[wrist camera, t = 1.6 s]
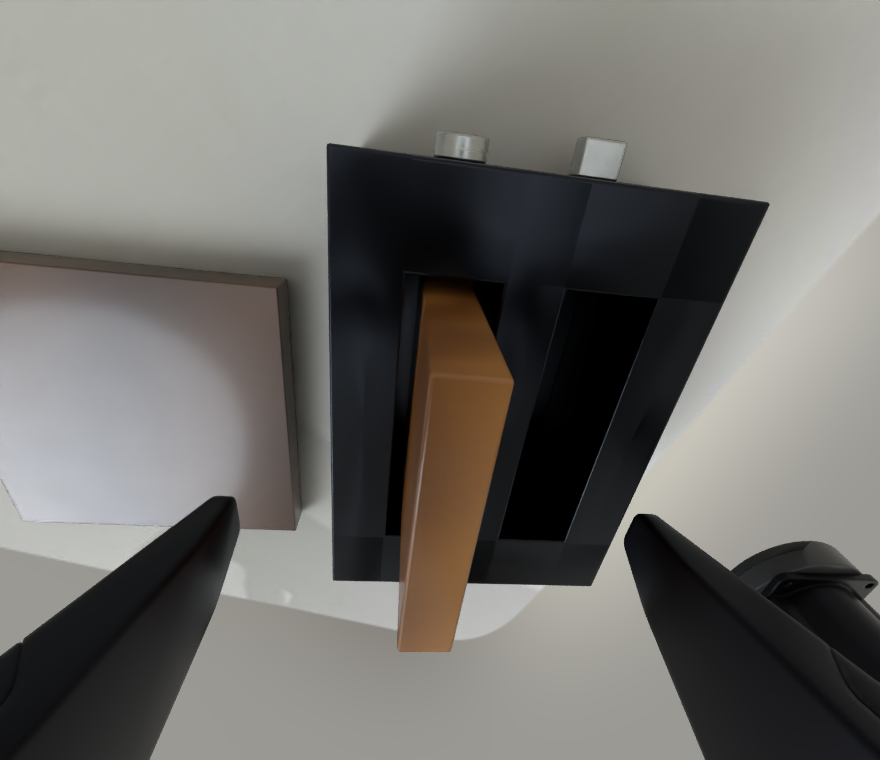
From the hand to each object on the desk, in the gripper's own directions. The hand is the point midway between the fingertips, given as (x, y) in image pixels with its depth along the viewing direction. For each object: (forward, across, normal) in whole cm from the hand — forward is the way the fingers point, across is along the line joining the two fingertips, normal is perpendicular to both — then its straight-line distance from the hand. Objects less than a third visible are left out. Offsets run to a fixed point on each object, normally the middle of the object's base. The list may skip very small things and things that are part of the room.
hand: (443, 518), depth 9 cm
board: (+9, +12, +3) cm, 15 cm away
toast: (+8, 0, 0) cm, 8 cm away
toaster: (+9, -2, 0) cm, 9 cm away
